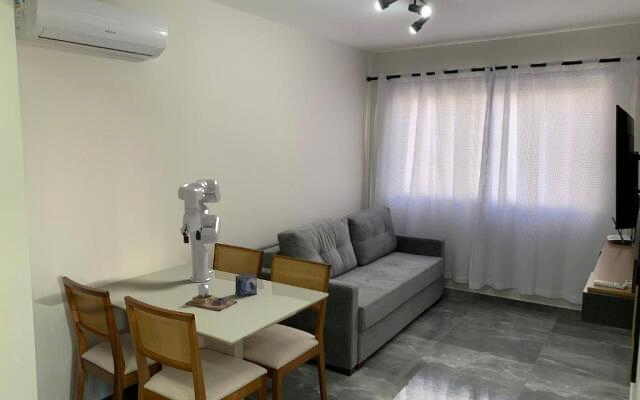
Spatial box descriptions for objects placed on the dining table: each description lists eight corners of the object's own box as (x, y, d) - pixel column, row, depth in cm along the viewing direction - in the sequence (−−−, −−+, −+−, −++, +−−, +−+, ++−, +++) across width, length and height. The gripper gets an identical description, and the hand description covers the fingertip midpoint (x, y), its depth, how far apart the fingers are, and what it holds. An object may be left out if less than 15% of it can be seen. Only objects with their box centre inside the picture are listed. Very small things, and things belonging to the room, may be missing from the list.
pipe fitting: (202, 298, 255) (202, 283, 254) (210, 299, 253) (210, 284, 252) (196, 301, 250) (196, 286, 249) (204, 302, 248) (204, 287, 247)
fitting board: (203, 296, 260) (203, 291, 260) (237, 302, 251) (236, 297, 250) (185, 304, 248) (185, 298, 248) (220, 311, 238) (220, 305, 238)
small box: (238, 297, 260) (238, 278, 259) (235, 294, 265) (234, 275, 264) (257, 294, 265) (257, 276, 263) (253, 291, 270) (253, 273, 269)
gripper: (196, 208, 274) (197, 238, 276) (175, 212, 258) (176, 243, 260) (207, 209, 270) (208, 239, 272) (186, 213, 255) (186, 245, 257)
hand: (192, 241), depth 266 cm, fingers open, 9 cm apart
